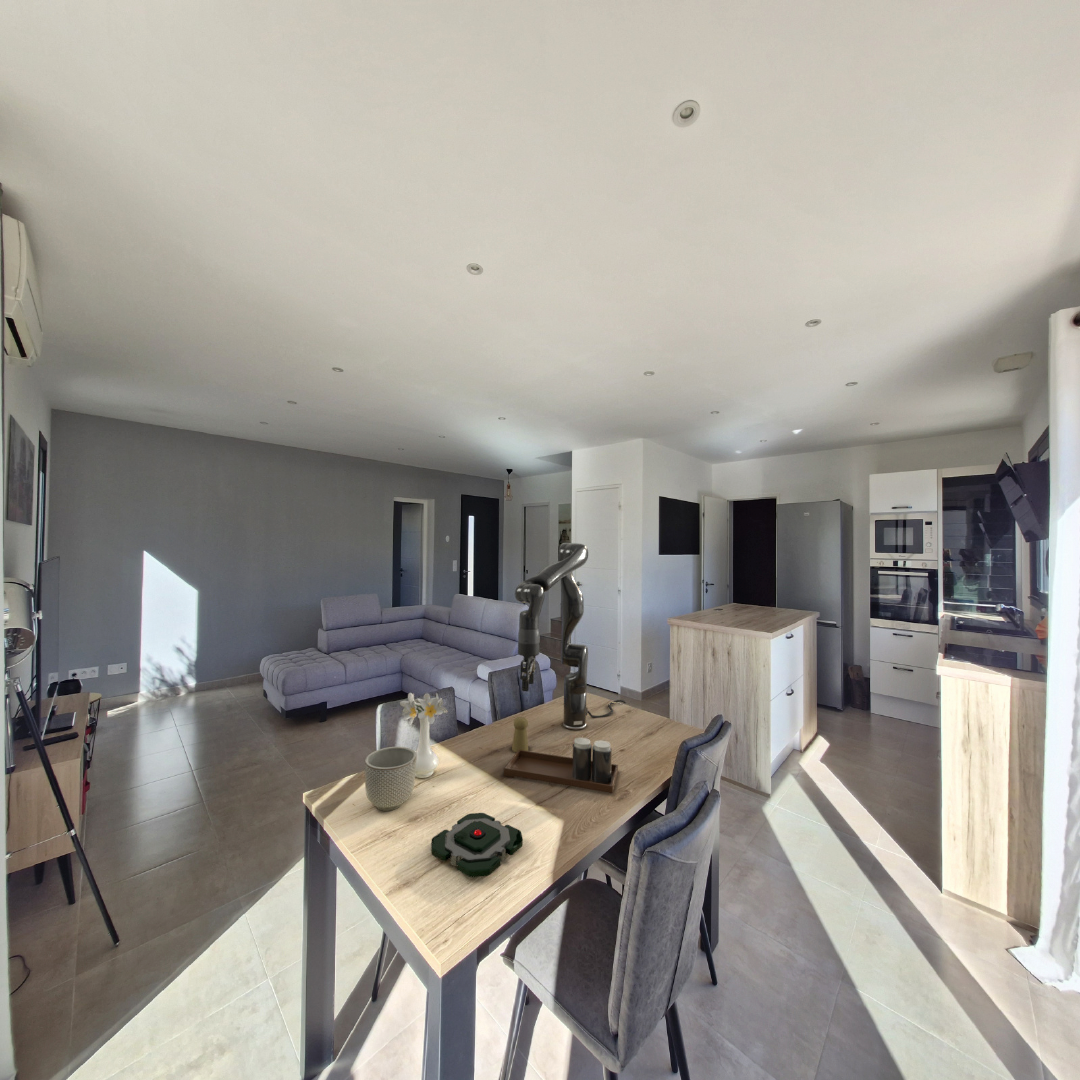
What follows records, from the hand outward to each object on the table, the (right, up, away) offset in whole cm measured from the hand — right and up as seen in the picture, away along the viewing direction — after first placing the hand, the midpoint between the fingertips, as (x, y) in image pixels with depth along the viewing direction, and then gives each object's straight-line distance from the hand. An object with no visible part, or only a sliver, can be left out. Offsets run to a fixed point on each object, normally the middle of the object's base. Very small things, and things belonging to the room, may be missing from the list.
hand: (527, 687), depth 158 cm
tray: (+11, -24, -13) cm, 29 cm away
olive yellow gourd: (-3, -24, +5) cm, 25 cm away
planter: (-38, -22, -32) cm, 54 cm away
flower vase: (-34, -23, -15) cm, 43 cm away
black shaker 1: (+17, -23, -15) cm, 33 cm away
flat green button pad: (-11, -22, -50) cm, 56 cm away
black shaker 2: (+23, -23, -17) cm, 37 cm away
